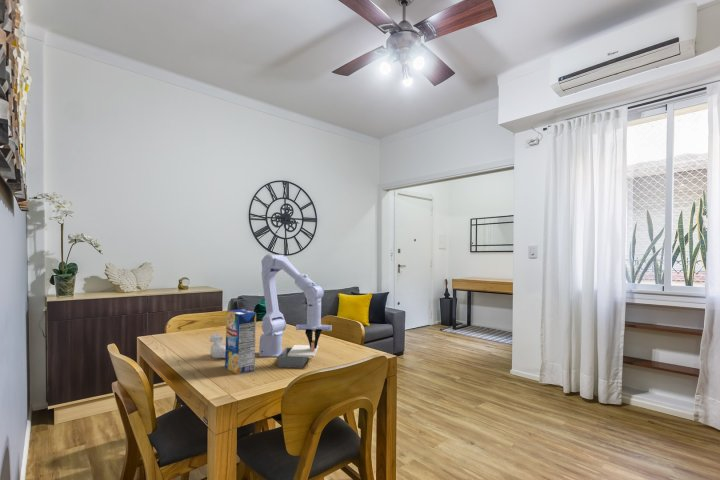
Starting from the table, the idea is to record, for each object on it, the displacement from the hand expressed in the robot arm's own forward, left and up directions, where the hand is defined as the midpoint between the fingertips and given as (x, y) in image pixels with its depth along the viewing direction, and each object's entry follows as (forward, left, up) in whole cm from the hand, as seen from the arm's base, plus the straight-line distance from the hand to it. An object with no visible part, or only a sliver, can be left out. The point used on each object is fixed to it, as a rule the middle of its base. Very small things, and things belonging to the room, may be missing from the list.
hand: (313, 347), depth 149 cm
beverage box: (-27, -10, -6) cm, 29 cm away
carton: (-8, 0, -6) cm, 10 cm away
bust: (-41, +4, -6) cm, 42 cm away
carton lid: (-4, 0, -2) cm, 4 cm away
